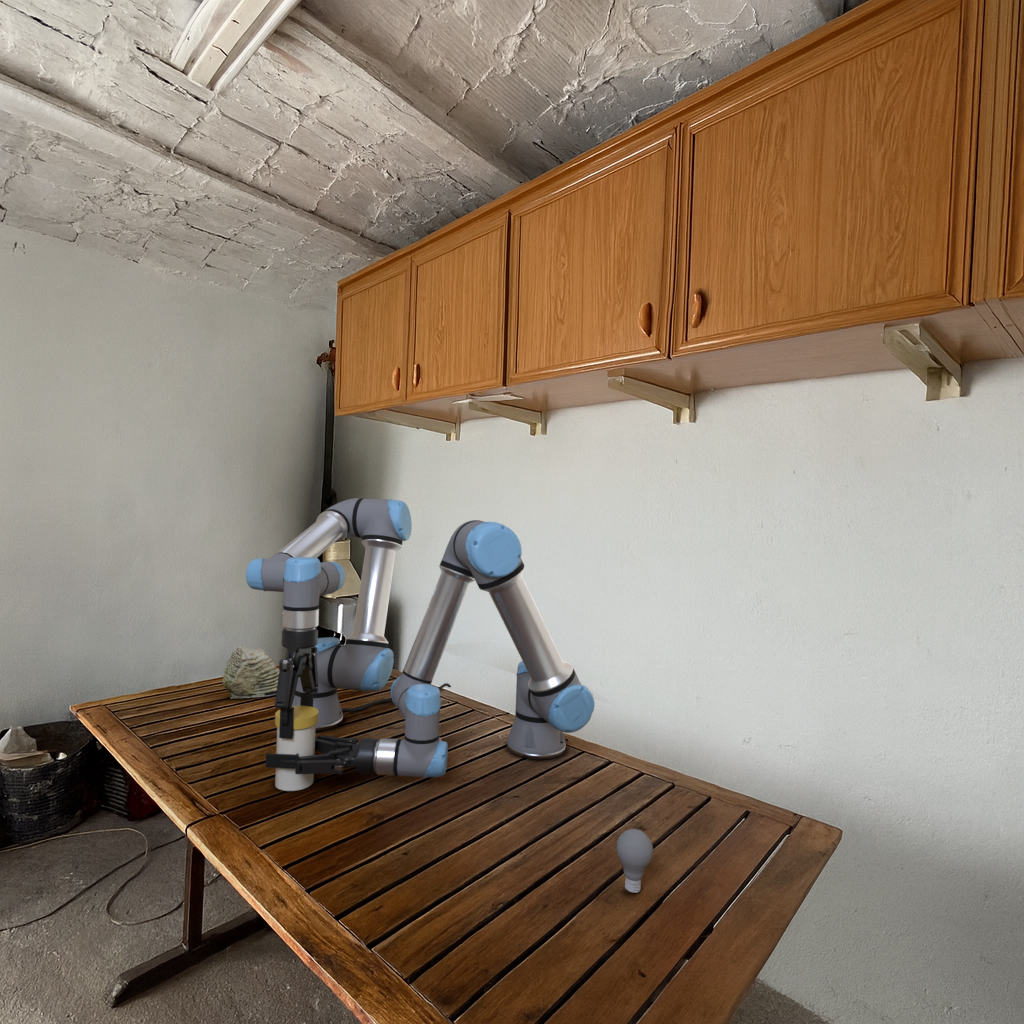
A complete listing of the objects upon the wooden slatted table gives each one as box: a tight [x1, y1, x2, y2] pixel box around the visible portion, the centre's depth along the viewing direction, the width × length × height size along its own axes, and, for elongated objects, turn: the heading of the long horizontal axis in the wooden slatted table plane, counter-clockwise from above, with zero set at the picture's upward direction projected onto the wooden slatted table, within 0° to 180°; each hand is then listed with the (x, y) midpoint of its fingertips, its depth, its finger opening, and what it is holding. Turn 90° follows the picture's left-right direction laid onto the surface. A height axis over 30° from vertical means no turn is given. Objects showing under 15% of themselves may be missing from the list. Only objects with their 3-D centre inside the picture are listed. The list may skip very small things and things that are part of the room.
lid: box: [274, 706, 319, 730], centre depth 139 cm, size 9×9×2 cm
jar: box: [274, 725, 317, 792], centre depth 140 cm, size 8×8×15 cm
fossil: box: [222, 646, 279, 699], centre depth 198 cm, size 9×18×15 cm, turn 132°
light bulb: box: [615, 828, 654, 894], centre depth 106 cm, size 6×6×10 cm
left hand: (296, 729), depth 140 cm, fingers closed on lid, 9 cm apart
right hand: (274, 752), depth 140 cm, fingers closed on jar, 8 cm apart
